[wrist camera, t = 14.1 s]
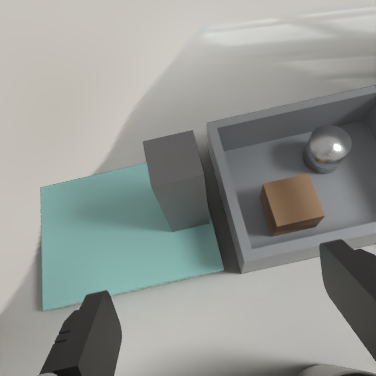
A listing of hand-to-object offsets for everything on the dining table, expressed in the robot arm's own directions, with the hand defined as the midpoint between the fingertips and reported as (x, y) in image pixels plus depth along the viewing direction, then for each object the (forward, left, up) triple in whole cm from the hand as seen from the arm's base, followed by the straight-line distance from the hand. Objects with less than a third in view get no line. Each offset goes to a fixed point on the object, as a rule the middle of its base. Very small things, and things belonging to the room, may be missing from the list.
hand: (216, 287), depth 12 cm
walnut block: (-11, -2, -17) cm, 20 cm away
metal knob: (-18, -3, -17) cm, 25 cm away
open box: (-15, -2, -17) cm, 23 cm away
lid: (0, -12, -18) cm, 21 cm away
